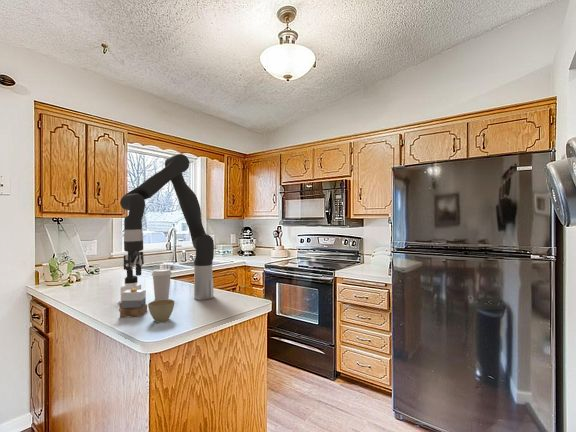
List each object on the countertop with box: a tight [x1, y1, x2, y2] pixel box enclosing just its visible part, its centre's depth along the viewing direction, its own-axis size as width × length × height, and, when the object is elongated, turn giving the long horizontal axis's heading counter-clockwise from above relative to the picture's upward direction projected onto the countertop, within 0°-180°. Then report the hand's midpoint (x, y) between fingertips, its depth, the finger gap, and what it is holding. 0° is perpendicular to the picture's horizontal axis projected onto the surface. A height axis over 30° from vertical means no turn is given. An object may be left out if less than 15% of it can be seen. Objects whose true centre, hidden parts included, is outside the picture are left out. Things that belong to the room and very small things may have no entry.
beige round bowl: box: [147, 299, 175, 323], centre depth 127 cm, size 10×10×7 cm
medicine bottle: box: [119, 275, 142, 302], centre depth 160 cm, size 7×7×12 cm
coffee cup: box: [151, 268, 172, 301], centre depth 160 cm, size 10×10×15 cm
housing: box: [121, 289, 147, 309], centre depth 135 cm, size 8×5×8 cm, turn 93°
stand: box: [119, 304, 148, 318], centre depth 135 cm, size 8×8×3 cm
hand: (134, 277), depth 135 cm, fingers open, 8 cm apart
